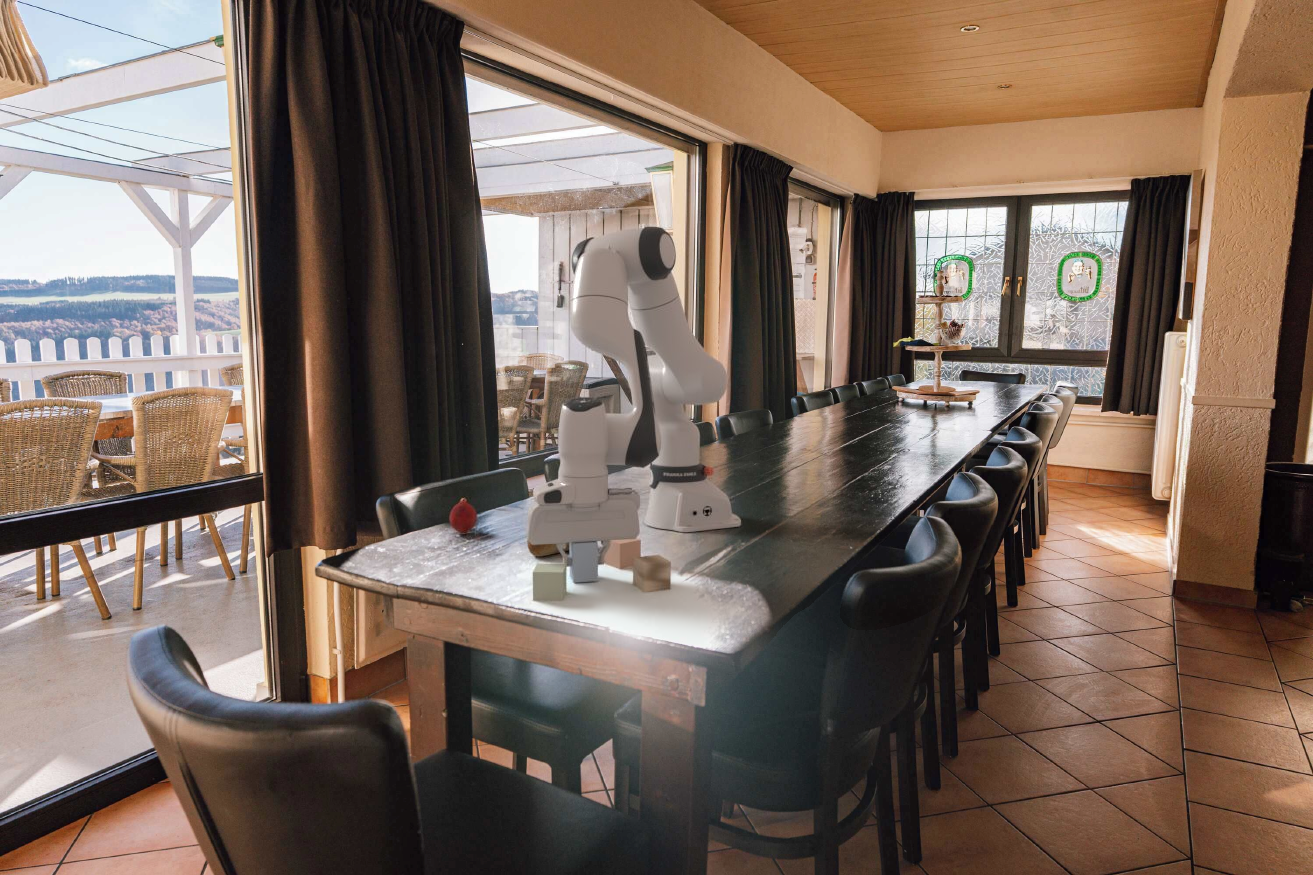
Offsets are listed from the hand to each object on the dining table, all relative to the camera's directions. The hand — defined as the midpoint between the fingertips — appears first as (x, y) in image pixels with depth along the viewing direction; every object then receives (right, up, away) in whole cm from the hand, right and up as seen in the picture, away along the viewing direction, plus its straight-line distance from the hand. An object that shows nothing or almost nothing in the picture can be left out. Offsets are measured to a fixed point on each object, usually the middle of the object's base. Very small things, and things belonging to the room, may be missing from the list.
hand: (583, 564), depth 149 cm
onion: (-29, +2, +32) cm, 43 cm away
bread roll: (-7, 0, +19) cm, 20 cm away
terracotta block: (+7, -2, +10) cm, 12 cm away
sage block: (-5, -4, -9) cm, 11 cm away
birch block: (+12, -3, -4) cm, 13 cm away
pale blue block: (0, -2, 0) cm, 2 cm away
